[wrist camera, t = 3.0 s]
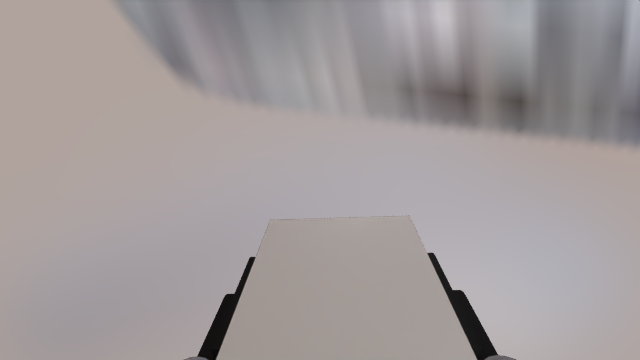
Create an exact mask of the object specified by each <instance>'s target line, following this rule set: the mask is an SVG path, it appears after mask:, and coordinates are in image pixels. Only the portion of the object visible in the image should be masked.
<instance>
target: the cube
mask: <svg viewBox="0 0 640 360" xmlns="http://www.w3.org/2000/svg"><path fill="white" fill-rule="evenodd" d="M216 360H477V358H476V356H475V354H474V352H473V350H472V348H471V346H470V343H469V341H468V339H467V337H466V335H465V333H464V331H463V328H462V326H461V324H460V322H459V320H458V318H457V316H456V314H455V311H454V309H453V307H452V305H451V303H450V301H449V299H448V297H447V294H446V292H445V290H444V288H443V286H442V284H441V282H440V279H439V277H438V275H437V273H436V271H435V269H434V267H433V265H432V262H431V260H430V258H429V256H428V254H427V252H426V250H425V248H424V245H423V243H422V241H421V239H420V237H419V235H418V233H417V230H416V228H415V226H414V224H413V222H412V220H411V218H410V216H384V217H351V218H350V217H348V218H315V219H282V220H281V219H280V220H270V222H269V224H268V227H267V230H266V232H265V235H264V237H263V240H262V242H261V245H260V247H259V250H258V253H257V255H256V258H255V260H254V263H253V266H252V268H251V271H250V273H249V276H248V278H247V281H246V284H245V286H244V289H243V291H242V294H241V296H240V299H239V302H238V304H237V307H236V309H235V312H234V315H233V317H232V320H231V322H230V325H229V327H228V330H227V333H226V335H225V338H224V340H223V343H222V346H221V348H220V351H219V353H218V356H217V358H216Z"/></svg>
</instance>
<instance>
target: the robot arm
mask: <svg viewBox="0 0 640 360" xmlns="http://www.w3.org/2000/svg"><path fill="white" fill-rule="evenodd" d="M427 254H428V256H429V258H430V260H431V262H432V265H433V267H434V269H435V271H436V273H437V275H438V277H439V279H440V282H441V284H442V286H443V288H444V290H445V292H446V294H447V297H448V299H449V301H450V303H451V305H452V307H453V309H454V311H455V314H456V316H457V318H458V320H459V322H460V324H461V326H462V328H463V331H464V333H465V335H466V337H467V339H468V341H469V343H470V346H471V348H472V350H473V352H474V354H475V356H476V358H477V360H516V359H513V358H510V357H507V356H500V355H498V354H497V352H496V350H495V349H494V347H493V345H492V343H491V341H490V339H489V337H488V336H487V334H486V332H485V330H484V328H483V327H482V325H481V323H480V321H479V319H478V317H477V316H476V314H475V312H474V310H473V308H472V306H471V305H470V303H469V301H468V299H467V297H466V295H465V294H464V292H462V291H461V290H452V288H451V286H450V284H449V282H448V280H447V278H446V276H445V274H444V272H443V270H442V268H441V267H440V264H439V262H438V261H437V258H436V256H435V255H434V253H427ZM255 258H256V257H250V258H249V261H248V263H247V265H246V268H245V270H244V273H243V275H242V277H241V280H240V282H239V285H238V287H237V289H236V292H235V294H227V295H225V297H224V299H223V301H222V303H221V305H220V308H219V310H218V312H217V314H216V317H215V319H214V321H213V323H212V325H211V327H210V330H209V332H208V334H207V336H206V339H205V341H204V343H203V345H202V347H201V349H200V352H199V354H198V356H197V357H191V358H188V359H185V360H216V358H217V356H218V353H219V351H220V348H221V346H222V343H223V340H224V338H225V335H226V333H227V330H228V327H229V325H230V322H231V320H232V317H233V315H234V312H235V309H236V307H237V304H238V302H239V299H240V296H241V294H242V291H243V289H244V286H245V284H246V281H247V278H248V276H249V273H250V271H251V268H252V266H253V263H254V260H255Z"/></svg>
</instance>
